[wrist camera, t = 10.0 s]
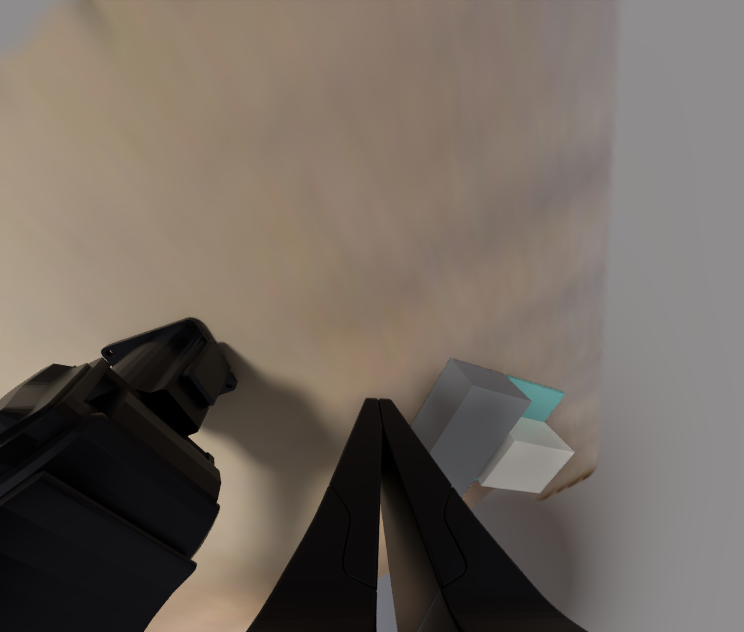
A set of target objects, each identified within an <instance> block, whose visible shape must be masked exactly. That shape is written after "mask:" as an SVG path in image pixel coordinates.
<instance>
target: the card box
mask: <svg viewBox="0 0 744 632" xmlns="http://www.w3.org/2000/svg"><path fill="white" fill-rule="evenodd" d="M574 453H575V452H574V451H573V450H572V449H571V448H570V447H569V446H568V445H567V444H566V443H565V442H564V441H563V440H562V439H561V438H560V437H559V436H558V435H557V434H556V433H555V432H554V431H553V430H552V429H551V428H550V427H549V426H548V425H547V424H546V423H545V422H541V421H537V420H533V419H528V418H524V417H521V418H520V419H519V420H518V422H517V423H516V424H515V426H514V427H513V428H512V430H511V431H510V432H509V434H508V435H507V437H506V438H505V439H504V441H503V442H502V443H501V445H500V446H499V447H498V449H497V450H496V451H495V453H494V454H493V455H492V457H491V458H490V460H489V461H488V462H487V464H486V465H485V466H484V468H483V469H482V470H481V472H480V473H479V474H478V476H477V477H476V478H477V480H478V481H479V483H480V485H481V486H485V487H493V488H502V489H509V490H517V491H525V492H533V493H540V492H541V491H542V490H543V489H544V488H545V487H546V485H547V484H548V483H549V482H550V481H551V480H552V478H553V477H554V476H555V475H556V474H557V473H558V471H559V470H560V469H561V468H562V467H563V466H564V465H565V463H566V462H567V461H568V460H569V459H570V458H571V456H572V455H573V454H574Z"/></svg>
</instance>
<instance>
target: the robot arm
mask: <svg viewBox="0 0 744 632" xmlns="http://www.w3.org/2000/svg"><path fill="white" fill-rule="evenodd" d="M187 323H191V324H192V325H193V327H189V326H188V324H187ZM109 350H111V351H113V352H114V354H113V353H111V352H110V351H109ZM101 354H102V356H103V357H104V358H105V359H106V360H107V361H108V362H107V361H106V360H105V359H104V358H103V357H101V358H99V359H97V360H95V361H93V362H91V363H89V364H88V363H85V364H83V365H81V366H78V367H76V366H73V367H71V366H65V365H59V364H52V365H50V366H48V367H46V368H44V369H42V370H41V371H39V372H38V373H36V374H35V375H33V376H32V377H30V378H29V379H27V380H26V381H24V382H23V383H21V384H20V385H18V386H17V387H15V388H14V389H13V390H11V391H10V392H9V393H7V394H6V395H5V396H4V397H3V398H1V400H0V632H144V631H145V629H146V628H147V626H148V625H149V623H150V622H151V620H152V619H153V617H154V616H155V615H156V614H157V612H158V611H159V610H160V609H161V607H162V606H163V605H164V603H165V602H166V601H167V600H168V598H169V597H170V596H171V595H172V593H173V592H174V591H175V590H176V589H177V588H178V587H179V586H180V585H181V584H182V583H183V582H184V581H185V580H186V579H187V578H188V577H189V576H190V575H191V574H192V573H193V572H194V571H195V569H196V567H197V563H196V562H194V561H193V560H191V559H192V558H193V556H194V555H195V554H196V552H197V551H198V550H199V548H200V547H201V545H202V544H203V542H204V540H205V539H206V537H207V535H208V533H209V532H210V530H211V528H212V526H213V524H214V522H215V520H216V518H217V516H218V513H219V509H220V505H219V504H218V503H217V500H218V496H219V491H220V486H221V478H220V471H219V470H218V469H217V468H216V467H215V466H214V457H213V456H212V455H211V454H210V453H208V452H207V453H206V452H204V451H203V450H202V449H201V448H200V447H199V446H198V445H197V444H195V443H194V442H193V441H192V440H191V439H190V438H189V437H188V436H189V435H191V434H194V433H196V432H198V430H199V428H200V426H201V424H202V422H203V420H204V418H205V415H206V413H207V411H208V409H209V407H211V406H213V405H214V404H215V401H216V399H217V397H218V395H221V394H224V393H227V392H230V391H232V390H234V389H235V388H236V386H237V383H238V382H237V380H236V378H235V377H234V375H233V374H232V372H231V371H230V365H229V364H228V362H227V361H226V359H225V358H224V356H223V355H222V353H221V352H220V350H219V349H218V347H217V345H216V344H215V342H213V341H211V340H210V339H209V337H208V336H207V334H206V333H205V331H204V329H203V328H202V326H201V325H200V323H199V322H198V321H197V320H196V319H195V318H191V317H189V318H185V319H182V320H179V321H176V322H174V323H171V324H168V325H165V326H162V327H159V328H156V329H153V330H150V331H147V332H144V333H141V334H138V335H135V336H133V337H130V338H127V339H124V340H121V341H118V342H115V343H112V344H109V345H107V346H106V347H104V348H103V349H102V351H101ZM110 366H112V368H110ZM227 383H231V384H233V385H228V384H227ZM380 504H381V511H382V519H383V526H384V534H385V541H386V549H387V556H388V564H389V571H390V578H391V586H392V593H393V601H394V608H395V616H396V623H397V631H398V632H588V631H586V630H585V629H583V628H582V627H580V626H579V625H577V624H576V623H574V622H573V621H571V620H570V619H569V618H567V617H566V616H565V615H564V614H562V613H561V612H560V611H559V610H558V609H556V608H555V607H554V606H553V605H552V604H551V603H550V602H549V601H548V600H547V599H546V598H545V597H544V596H543V595H542V594H541V593H540V592H539V591H538V589H537V588H536V587H535V586H534V585H533V584H532V583H531V581H530V580H529V579H528V578H527V577H526V576H525V575H524V573H523V572H522V571H521V570H520V569H519V567H518V566H517V565H516V564H515V563H514V562H513V560H512V559H511V558H510V557H509V556H508V555H507V554H506V552H505V551H504V550H503V549H502V548H501V547H500V545H499V544H498V543H497V542H496V541H495V540H494V538H493V537H492V536H491V535H490V534H489V532H488V531H487V530H486V529H485V528H484V526H483V525H482V524H481V523H480V521H479V520H478V519H477V518H476V517H475V515H474V514H473V513H472V511H471V510H470V509H469V507H468V506H467V505H466V503H465V502H464V501H463V499H462V498H461V496H460V495H459V494H458V492H457V491H456V489H455V488H454V487H452V484H451V483H450V481H449V480H448V478H447V477H446V476H445V474H444V473H443V471H442V470H441V469H440V467H439V466H438V464H437V463H436V462H435V460H434V459H433V457H432V456H431V455H430V453H429V452H428V450H427V449H426V448H425V446H424V445H423V443H422V442H421V441H420V439H419V438H418V436H417V435H416V434H415V432H414V431H413V429H412V428H411V427H410V425H409V424H408V422H407V421H406V420H405V418H404V417H403V416H402V414H401V413H400V411H399V410H398V409H397V407H396V406H395V404H394V403H393V402H392V400H391V399H382V398H380V399H379V400H378V399H377V398H366V399H365V401H364V403H363V405H362V408H361V410H360V413H359V415H358V417H357V420H356V422H355V424H354V427H353V429H352V431H351V434H350V436H349V438H348V441H347V443H346V446H345V448H344V450H343V453H342V455H341V457H340V460H339V462H338V464H337V467H336V469H335V471H334V474H333V476H332V479H331V481H330V483H329V486H328V488H327V490H326V492H325V495H324V497H323V499H322V501H321V504H320V506H319V508H318V510H317V512H316V514H315V516H314V518H313V520H312V522H311V524H310V526H309V528H308V530H307V531H306V533H305V535H304V537H303V539H302V541H301V542H300V544H299V546H298V548H297V549H296V551H295V553H294V555H293V556H292V558H291V560H290V561H289V563H288V565H287V567H286V568H285V570H284V572H283V574H282V575H281V577H280V579H279V581H278V582H277V584H276V586H275V587H274V589H273V591H272V593H271V594H270V596H269V598H268V599H267V601H266V603H265V604H264V606H263V607H262V609H261V610H260V612H259V614H258V615H257V617H256V618H255V619H254V621H253V622H252V624H251V625H250V627H249V628H248V630H247V631H246V632H377V630H376V610H377V592H376V591H377V579H378V551H379V523H380Z"/></svg>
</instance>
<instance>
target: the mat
mask: <svg viewBox="0 0 744 632" xmlns="http://www.w3.org/2000/svg"><path fill="white" fill-rule="evenodd" d="M507 378H509V379H510V380H511V381H512V382H513V383H514V384H515V385H516V386H517V387H518V388H519V389H520V390H521V391H522V392H523V393H524V394H525V395H526V396H527V397H528V398H529V399H530V400H531V401H532V403H531V404H530V405H529V407H528V408H527V409H526V411H525V412H524V413H523V415H522V416H521V417H524V418H528V419H533V420H537V421H541V422H544V421H545V420H546V419H547V417H548V416H549V415H550V413H551V412H552V411H553V410H554V408H555V407H556V406H557V404H558V403H559V402H560V401H561V399H562V398H563V397H564V395H565V393H563V392H562V391H558V390H555V389H552V388H548V387H545V386H542V385H538V384H535V383H532V382H529V381H525V380H522V379H519V378H515V377H512V376H509V375H507ZM474 481H478V480H477V478H476V479H475V480H474Z"/></svg>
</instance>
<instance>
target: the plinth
mask: <svg viewBox="0 0 744 632" xmlns="http://www.w3.org/2000/svg"><path fill="white" fill-rule="evenodd" d="M531 403H532V401H531V400H530V399H529V398H528V397H527V396H526V395H525V394H524V393H523V392H522V391H521V390H520V389H519V388H518V387H517V386H516V385H515V384H514V383H513V382H512V381H511V380H510V379H509V378H507V377H506V376H505V375H504V374H502V373H499V372H496V371H492V370H489V369H486V368H482V367H479V366H476V365H472V364H469V363H466V362H462V361H459V360H456V359H453V358H450V360H449V361H448V363H447V365H446V366H445V368H444V370H443V372H442V373H441V375H440V377H439V378H438V380H437V382H436V383H435V385H434V387H433V389H432V390H431V392H430V394H429V395H428V397H427V399H426V401H425V402H424V404H423V406H422V407H421V409H420V411H419V413H418V414H417V416H416V418H415V419H414V421H413V423H412V425H411V426H410V427H411V428H412V429H413V431H414V432H415V434H416V435H417V436H418V438H419V439H420V441H421V442H422V443H423V445H424V446H425V448H426V449H427V450H428V452H429V453H430V455H431V456H432V457H433V459H434V460H435V462H436V463H437V464H438V466H439V467H440V469H441V470H442V471H443V473H444V474H445V476H446V477H447V478H448V480H449V481H450V483H451V484H452V487H454V488H455V489H456V491H457V492H458V494H459V495H460V496H461V497H462V496H463V495H464V493H465V492H466V491H467V489H468V488H469V487H470V485H471V484H472V483H473V481H474V480H475V479H476V477H477V476H478V474H479V473H480V472H481V470H482V469H483V468H484V466H485V465H486V464H487V462H488V461H489V460H490V458H491V457H492V455H493V454H494V453H495V451H496V450H497V449H498V447H499V446H500V445H501V443H502V442H503V441H504V439H505V438H506V437H507V435H508V434H509V432H510V431H511V430H512V428H513V427H514V426H515V424H516V423H517V422H518V420H519V419H520V418H521V416H522V415H523V413H524V412H525V411H526V409H527V408H528V407H529V405H530V404H531Z"/></svg>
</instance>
